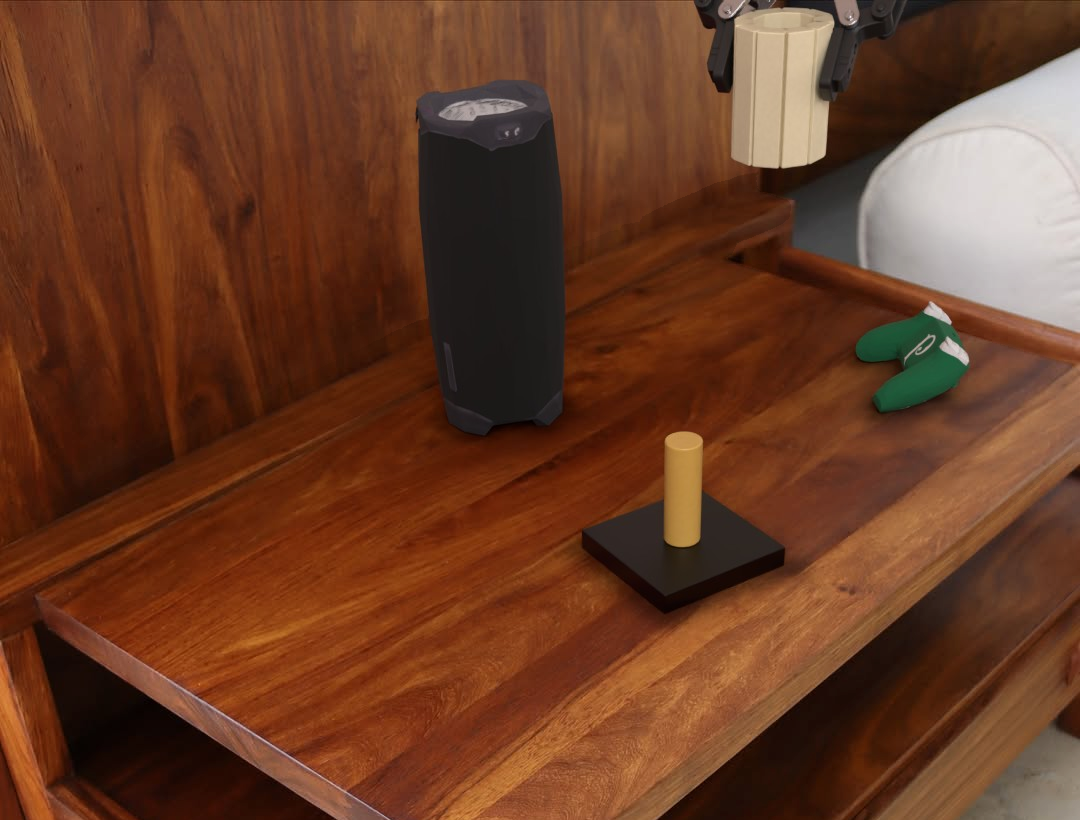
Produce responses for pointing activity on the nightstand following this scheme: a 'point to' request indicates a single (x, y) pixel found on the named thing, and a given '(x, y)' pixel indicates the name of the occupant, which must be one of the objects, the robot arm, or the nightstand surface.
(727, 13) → the robot arm
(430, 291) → the portable speaker
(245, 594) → the nightstand surface
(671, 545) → the stand
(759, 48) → the cream hollow cylinder
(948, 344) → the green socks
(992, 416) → the nightstand surface
